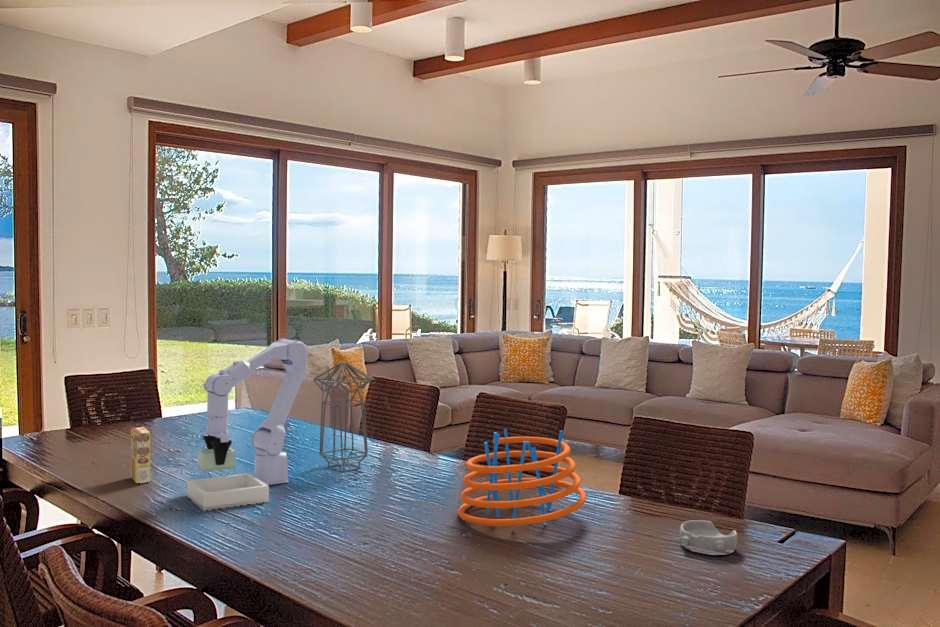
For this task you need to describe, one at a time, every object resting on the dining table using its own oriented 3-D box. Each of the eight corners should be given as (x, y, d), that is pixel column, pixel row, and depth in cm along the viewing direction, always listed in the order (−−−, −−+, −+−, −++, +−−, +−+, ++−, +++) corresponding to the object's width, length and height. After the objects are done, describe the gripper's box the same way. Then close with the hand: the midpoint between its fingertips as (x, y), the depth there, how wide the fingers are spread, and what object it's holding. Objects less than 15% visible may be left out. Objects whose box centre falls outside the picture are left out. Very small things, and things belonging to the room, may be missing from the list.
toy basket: (500, 551, 196) (492, 452, 196) (436, 520, 227) (429, 435, 226) (614, 521, 213) (607, 430, 212) (540, 495, 244) (533, 416, 243)
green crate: (228, 463, 241) (229, 447, 241) (234, 468, 236) (235, 451, 236) (197, 467, 236) (198, 450, 236) (203, 471, 231) (203, 454, 231)
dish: (692, 535, 210) (693, 516, 210) (745, 548, 201) (746, 528, 201) (667, 549, 199) (668, 528, 198) (722, 563, 190) (723, 542, 190)
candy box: (150, 482, 243) (151, 431, 243) (135, 484, 241) (136, 433, 240) (144, 476, 251) (144, 426, 250) (129, 477, 248) (130, 427, 248)
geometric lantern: (336, 476, 257) (335, 366, 256) (310, 467, 269) (310, 362, 268) (377, 468, 268) (377, 362, 266) (351, 460, 280) (350, 358, 278)
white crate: (248, 488, 241) (249, 473, 240) (268, 501, 227) (269, 485, 227) (186, 496, 230) (186, 480, 230) (203, 511, 217) (203, 494, 217)
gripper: (196, 412, 239) (195, 458, 240) (210, 421, 227) (210, 469, 228) (220, 411, 243) (219, 456, 244) (236, 419, 231) (235, 466, 232)
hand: (216, 462), depth 236 cm, fingers closed on green crate, 6 cm apart
